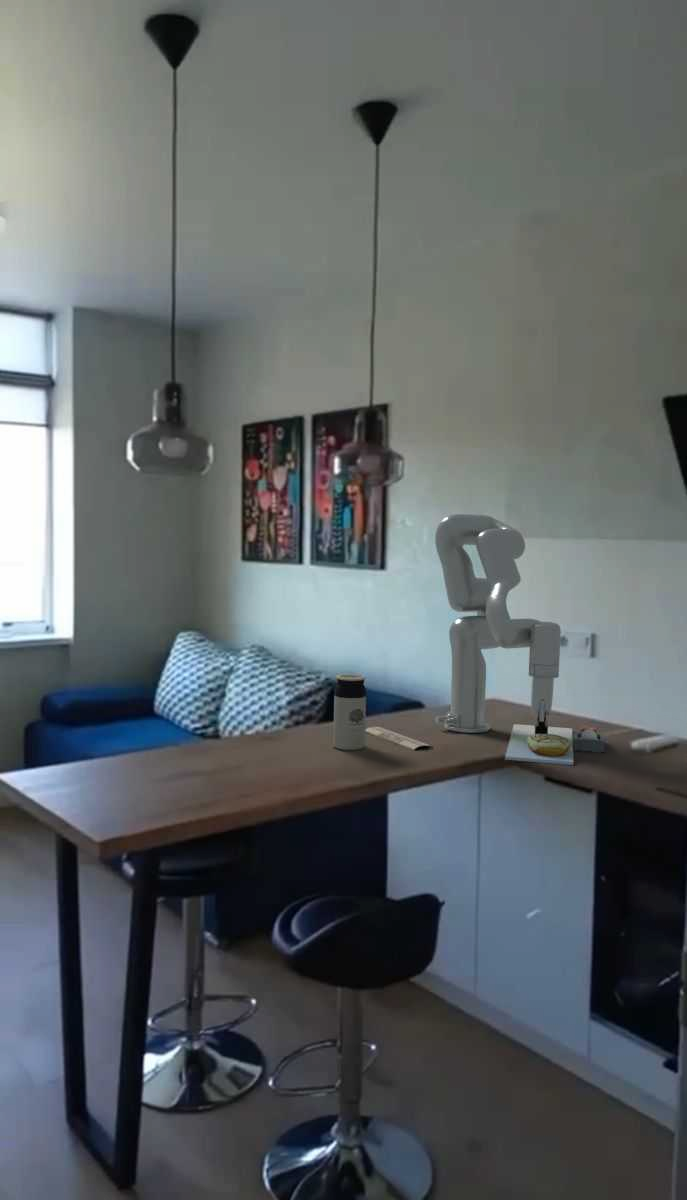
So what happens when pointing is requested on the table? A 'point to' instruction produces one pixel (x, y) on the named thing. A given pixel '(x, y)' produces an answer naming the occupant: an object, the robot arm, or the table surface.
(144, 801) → the table surface
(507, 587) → the robot arm
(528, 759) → the white flat board
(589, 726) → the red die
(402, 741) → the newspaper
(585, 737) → the dome button
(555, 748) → the decorated donut
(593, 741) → the dome collar
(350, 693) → the travel mug
